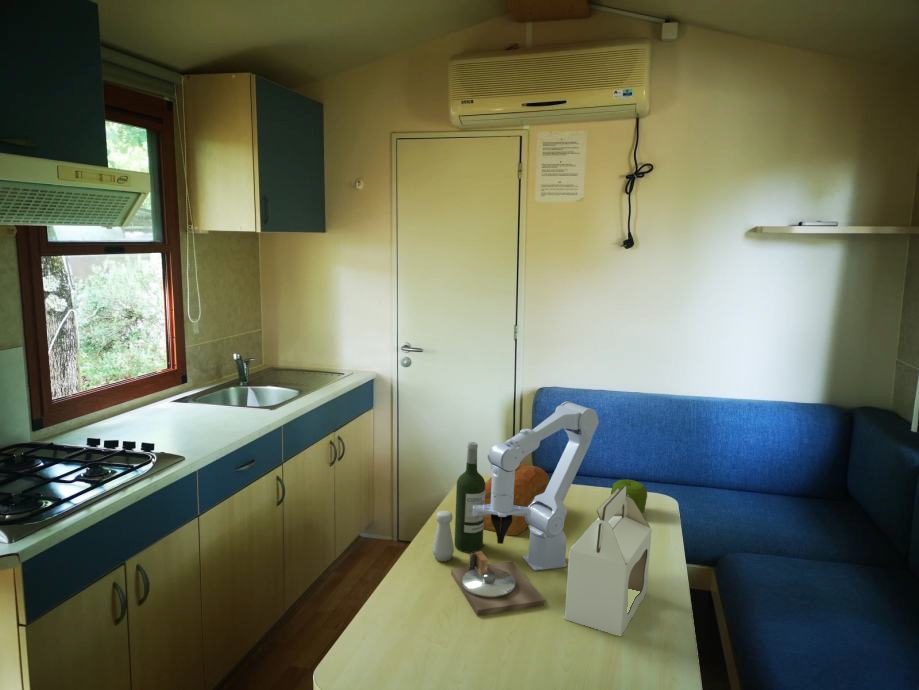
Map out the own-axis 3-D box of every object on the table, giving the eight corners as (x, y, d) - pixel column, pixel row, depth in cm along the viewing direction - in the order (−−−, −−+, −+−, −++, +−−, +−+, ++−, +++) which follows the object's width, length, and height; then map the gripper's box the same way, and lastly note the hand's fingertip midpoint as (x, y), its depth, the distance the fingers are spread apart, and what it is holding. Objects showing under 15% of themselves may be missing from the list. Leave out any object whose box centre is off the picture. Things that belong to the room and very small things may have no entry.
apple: (608, 516, 219) (610, 483, 217) (611, 504, 229) (613, 472, 227) (644, 522, 216) (647, 488, 214) (646, 509, 226) (648, 477, 224)
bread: (471, 526, 209) (473, 476, 206) (508, 497, 232) (510, 451, 229) (520, 539, 201) (523, 487, 198) (553, 508, 224) (556, 461, 222)
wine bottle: (471, 555, 190) (475, 449, 185) (448, 546, 195) (452, 443, 190) (488, 545, 196) (492, 443, 191) (465, 537, 201) (469, 437, 196)
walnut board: (512, 566, 185) (513, 545, 184) (544, 605, 166) (545, 582, 165) (451, 574, 179) (451, 552, 178) (477, 616, 161) (478, 591, 160)
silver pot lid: (523, 594, 168) (524, 576, 167) (472, 601, 164) (473, 583, 163) (501, 565, 181) (501, 548, 181) (453, 571, 177) (454, 554, 177)
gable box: (595, 579, 179) (602, 475, 175) (646, 594, 173) (655, 487, 168) (564, 620, 160) (571, 505, 156) (620, 638, 154) (630, 518, 149)
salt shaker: (450, 564, 185) (452, 518, 182) (429, 561, 186) (431, 515, 183) (455, 554, 190) (457, 509, 188) (435, 551, 191) (436, 507, 189)
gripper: (474, 496, 171) (471, 548, 174) (533, 498, 171) (530, 550, 174) (473, 485, 178) (471, 535, 181) (530, 487, 178) (527, 537, 181)
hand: (500, 542), depth 178 cm, fingers closed
